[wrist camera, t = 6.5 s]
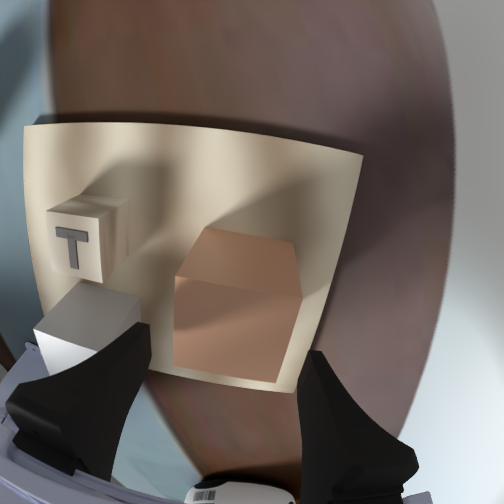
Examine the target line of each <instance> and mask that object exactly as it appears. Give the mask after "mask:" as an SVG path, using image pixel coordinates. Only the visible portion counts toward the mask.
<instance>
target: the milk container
mask: <svg viewBox="0 0 504 504" xmlns="http://www.w3.org/2000/svg"><path fill="white" fill-rule="evenodd" d="M184 503H187V504H295V500H294V498H293V496H292V494H291V493H290V492H288V491H287V490H285V489H283V488H281V487H279V486H276V485H272V484H269V483H265V482H258V481H253V480H240V479H215V480H210V481H203V482H201V483H198V484H196V485H194V486H193V487H192V488H191V489H190V490H189V492H188V494H187V496H186V498H185V501H184Z"/></svg>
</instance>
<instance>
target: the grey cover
mask: <svg viewBox="0 0 504 504" xmlns="http://www.w3.org/2000/svg"><path fill="white" fill-rule="evenodd" d="M136 322H141V323H142V321H141V305H140V296H137V295H132V294H127V293H123V292H118V291H114V290H110V289H105V288H101V287H97V286H93V285H89V284H85V283H81V282H78V283H77V284H76V285H75V286H74V287H73V288H72V289H71V290H70V291H69V292H68V293H67V294H66V295H65V296H64V297H63V298H62V299H61V300H60V301H59V302H58V303H57V304H56V305H55V306H54V307H53V308H52V309H51V310H50V311H49V312H48V313H47V314H46V315H45V317H44V318H43V319H42V320H41V321H40V322H39V323H38V324H37V325H36V326H35V327H34V328H33V330H34V333H35V336H36V339H37V342H38V345H39V348H40V351H41V354H42V356H43V359H44V362H45V364H46V367H47V370H48V372H49V375H50V376H51V375H54V374H57V373H59V372H61V371H64V370H66V369H68V368H71V367H73V366H75V365H77V364H79V363H81V362H82V361H84V360H86V359H88V358H89V357H91V356H93V355H94V354H95V353H97V352H98V351H100V350H101V349H103V348H104V347H106V346H107V345H108V344H110V343H111V342H112V341H114V340H115V339H116V338H118V337H119V336H120V335H121V334H123V333H124V332H125V331H126V330H128V329H129V328H130V327H131V326H132V325H134V324H135V323H136Z"/></svg>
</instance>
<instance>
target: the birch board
mask: <svg viewBox="0 0 504 504" xmlns="http://www.w3.org/2000/svg"><path fill="white" fill-rule="evenodd" d="M362 160H363V155H360V154H356V153H352V152H348V151H344V150H340V149H335V148H331V147H326V146H322V145H317V144H312V143H307V142H302V141H297V140H291V139H286V138H280V137H274V136H268V135H262V134H255V133H248V132H241V131H233V130H225V129H216V128H207V127H197V126H185V125H172V124H156V123H131V122H78V123H54V124H39V125H29V126H24V147H23V172H24V196H25V209H26V220H27V229H28V237H29V245H30V251H31V258H32V264H33V269H34V274H35V280H36V284H37V289H38V294H39V298H40V302H41V306H42V310H43V314H44V317H45V315H46V314H47V313H48V312H49V311H50V310H51V309H52V308H53V307H54V306H55V305H56V304H57V303H58V302H59V301H60V300H61V299H62V298H63V297H64V296H65V295H66V294H67V293H68V292H69V291H70V290H71V289H72V288H73V287H74V286H75V285H76V284H77V283H78V282H81V283H85V284H89V285H93V286H97V287H101V288H105V289H110V290H114V291H118V292H123V293H127V294H132V295H137V296H140V305H141V321H142V323H146V324H150V336H151V350H152V358H151V361H150V364H149V368H148V369H151V370H155V371H159V372H163V373H168V374H172V375H177V376H181V377H186V378H191V379H196V380H201V381H207V382H212V383H218V384H224V385H231V386H237V387H244V388H251V389H259V390H267V391H276V392H286V393H294V390H295V388H296V385H297V380H298V377H299V374H300V372H301V369H302V366H303V364H304V361H305V358H306V355H307V352H308V350H310V347H311V344H312V341H313V338H314V335H315V332H316V329H317V326H318V323H319V320H320V317H321V314H322V311H323V308H324V305H325V302H326V298H327V295H328V292H329V289H330V285H331V282H332V279H333V275H334V272H335V269H336V265H337V262H338V258H339V254H340V251H341V247H342V244H343V240H344V236H345V232H346V228H347V225H348V221H349V217H350V213H351V209H352V205H353V200H354V196H355V192H356V188H357V183H358V179H359V174H360V170H361V165H362ZM79 194H82V195H91V196H100V197H109V198H117V199H126V200H129V204H128V250H129V256H128V257H127V258H126V259H125V260H124V261H123V262H122V263H121V264H120V265H119V266H118V267H117V268H116V269H115V270H114V271H113V272H112V274H111V275H110V276H109V277H108V278H107V279H106V280H105V281H104V282H103V283H100V282H96V281H91V280H87V279H83V278H79V277H75V276H71V275H67V274H63V273H59V272H55V271H52V265H51V258H50V251H49V243H48V234H47V223H46V211H47V210H49V209H50V208H52V207H54V206H56V205H58V204H61V203H63V202H65V201H67V200H69V199H71V198H73V197H75V196H77V195H79ZM204 227H207V228H213V229H219V230H225V231H231V232H236V233H242V234H248V235H254V236H259V237H265V238H271V239H276V240H282V241H287V242H293V245H294V250H295V256H296V262H297V267H298V273H299V279H300V284H301V290H302V296H303V299H302V303H301V306H300V309H299V313H298V316H297V319H296V323H295V326H294V329H293V332H292V336H291V339H290V342H289V345H288V348H287V351H286V354H285V357H284V360H283V363H282V366H281V369H280V372H279V375H278V378H277V381H276V383H270V382H262V381H255V380H248V379H242V378H235V377H229V376H224V375H218V374H213V373H207V372H202V371H197V370H192V369H188V368H183V367H178V366H174V365H173V322H174V293H175V275H176V274H177V272H178V270H179V269H180V267H181V265H182V264H183V262H184V260H185V258H186V257H187V255H188V253H189V252H190V250H191V248H192V247H193V245H194V243H195V242H196V240H197V238H198V237H199V235H200V234H201V232H202V230H203V229H204Z"/></svg>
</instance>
